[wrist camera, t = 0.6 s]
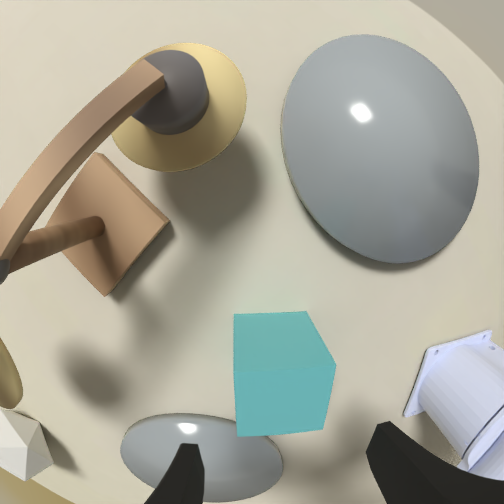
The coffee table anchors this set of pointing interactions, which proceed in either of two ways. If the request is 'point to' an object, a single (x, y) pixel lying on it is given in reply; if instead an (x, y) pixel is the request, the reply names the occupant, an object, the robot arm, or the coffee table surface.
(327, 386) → the block
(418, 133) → the dish low side
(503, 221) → the coffee table surface
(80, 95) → the coffee table surface
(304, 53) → the coffee table surface
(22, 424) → the die
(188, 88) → the balance
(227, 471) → the grey round disc
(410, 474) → the robot arm
